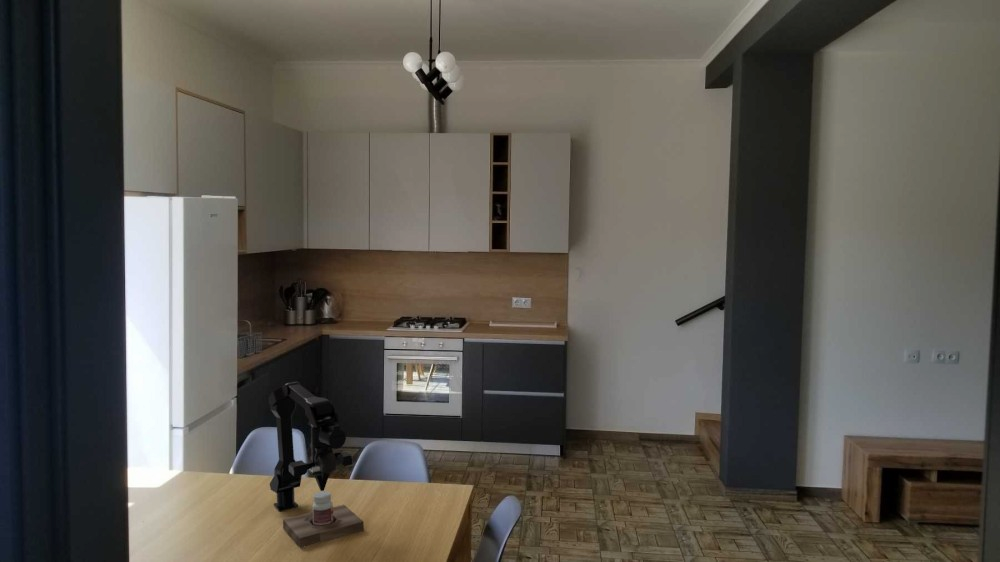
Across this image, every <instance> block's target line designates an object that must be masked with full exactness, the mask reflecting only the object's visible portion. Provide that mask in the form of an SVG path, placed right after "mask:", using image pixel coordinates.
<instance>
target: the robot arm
mask: <svg viewBox="0 0 1000 562" xmlns="http://www.w3.org/2000/svg"><path fill="white" fill-rule="evenodd" d="M268 404H269V408H270V411H271V412H272V414H273V415H274V417H275V418H276V419H275V420H276V433H277V434H276V435H277V436H276V437H277V450H278V462H277V464H276V465H275V467H274V468H273V469H274V471H273V473H274V476H273V477H272V479H271V480H270V482H269V489H270V490H271V492H273V493H275V494H276V502H274V503H273V507H275V508H276V510H278V511H279V512H281V511H286V510H290V509H294V508H298V507H299V504H298V503H297V502H296V500H295V498H296V497H295V489H296V488H300V487H301V484H302V483H301V482H302V476H304V475H306V474H307V472H309V473H310V474H311V475H312V476H313V477H314V478H315V481H316V484H317V486H318V487H319V490H320V492H322V491H325V489H326V486H327V483H328V479H329V477H330V476H331V473H333V472H335V471H336V470H337V469H338V466H340V465H342V466H343V467H347V466H351V465H353V464H354V457H353V455H351V454H350V453H348V452H347V451H338V452H334V451H333V449H334V450H338V449H340V448H342V447H343V446H344V444H345V443H346V439H347V436H346V433H345V432H344V430H342V429H341V427H340V425H339V423H340V421H339V415H338V412H337V411H336V409H335V407H334V405H333V403H332V401H331V400H329V399H327V398H325V397H320V396H319V397H318V396H316V395H314V394H313V393H311V392H310V390H308V389H306V388H305V387H303V386H302V384H301V383H300V382H299V381H294V382H287V383H285V384H283V385H282V386H281V387H279V388H277V389H275V390H274V391H272V392H271V393H270V395H268ZM297 405H299V406H301V408H303V409H304V410H305V413H304V415H305V416H306V417H307V419H308V422H307V424H308V426H310V440H311V442H310V443H309V447H310V448H311V449H310V450H311V456H310V461H309V462H304V461H303V460H302V459H301V460H295V453H294V451H295V450H294V437H293V422H292V421H293V420H292V417H293V414H294V413H295V410H296V408H297Z"/></svg>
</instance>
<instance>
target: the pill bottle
mask: <svg viewBox="0 0 1000 562" xmlns="http://www.w3.org/2000/svg"><path fill="white" fill-rule="evenodd" d="M333 507H334V503H333V501H332V495H331V492H329V491H327V490H324V491H318V492H315V493H314V494H313V504H312V509H311V510H312V512H313V526H324V525H328V524H332V523H333Z"/></svg>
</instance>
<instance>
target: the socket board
mask: <svg viewBox="0 0 1000 562" xmlns="http://www.w3.org/2000/svg"><path fill="white" fill-rule="evenodd" d="M364 527H365V525H364V521H363V519H361V518H360V517H359V516H358V515H357V514H355V512H354V511H352V510H351V509H350V508H349V507H348V506H346V505H345V504H340V505H337V506H333V523H332V524H328V525H324V526H313V511H312V512H308V513H304V514H299V515H295V516H289V517H288V518H287V517H286V518H283V519H282V528H283V530H284V531H285V532H286V535H287V534H288V536H289V537H290V538H291V540H292V541H293V542H294V543H295V544H296V546H297V547H298V546H299V547H300V548H299V549H302V548H305V547H304V546H306V547H309V546H313V545H316V544H319V543H323V542H328V541H331V540H335V539H339V538H342V537H345V536H349V535H353V534H357V533H361V532H364V529H365V528H364ZM301 547H302V548H301Z"/></svg>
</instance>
